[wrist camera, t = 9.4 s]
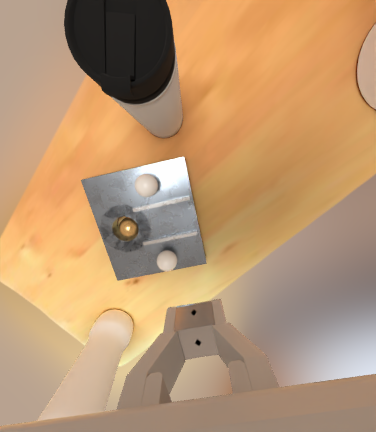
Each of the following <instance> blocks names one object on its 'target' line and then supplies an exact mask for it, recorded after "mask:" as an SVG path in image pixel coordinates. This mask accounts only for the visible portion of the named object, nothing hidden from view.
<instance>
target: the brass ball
mask: <svg viewBox="0 0 376 432" xmlns="http://www.w3.org/2000/svg"><path fill="white" fill-rule="evenodd" d="M119 231H120V233H121V234H122V235H123V236H125V237H133V236H135V235H136V234H137V233H138V231H139V228H138V225H137V223H136V222H135V221H134V220H133V219H132V218H125V219H123V220H122V221H121V222H120V224H119Z"/></svg>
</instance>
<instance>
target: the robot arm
mask: <svg viewBox="0 0 376 432" xmlns="http://www.w3.org/2000/svg"><path fill="white" fill-rule="evenodd" d="M357 78H358V85H359V88H360V91H361V94H362V96H363V97H364V99H365V100H366V102H367V103H368V104H369V105H370V106H371V107H373V108H374V109H376V23H375V25H374V26H373V27H372V29H371V30H370V32H369V34H368V35H367V37H366V39H365V41H364V44H363V46H362V49H361V52H360V55H359V60H358V67H357ZM211 355H219V356H220V358H221V359H222V360H223V362H224V363H225V364H226V366H227V367H228V368H229V373H230V380H231V385H232V391H233V394H228V395H220V396H213V397H207V398H199V399H192V400H184V401H177V402H172V401H171V399H170V396H169V394H170V392H171V390H172V388H173V386H174V384H175V382H176V379H177V377H178V375H179V373H180V371H181V369H182V367H183V365H184V363H185V360H187V359H192V358H197V357H204V356H211ZM0 432H376V374H372V375H364V376H357V377H350V378H343V379H336V380H328V381H321V382H314V383H307V384H300V385H292V386H285V387H279V385H278V383H277V380H276V378H275V375H274V373H273V370H272V368H271V365H270V363H269V361H268V358H267V355H266V354H264V353H263V352H262V351H261V350H260V349H259V348H258V347H256V346H255V345H254V344H253V343H252V342H251V341H249V340H248V339H247V338H246V337H245V336H244V335H243V334H242V333H241V332H239V331H238V330H237V329H236V328H235V327H234V326H233V325H231V324H230V323H226V319H225V315H224V311H223V306H222V302H221V299H216V300H212V301H206V302H201V303H195V304H189V305H182V306H177V307H170V308H168V309H167V312H166V318H165V325H164V331H163V333H162V334H160V335H159V336H158V337H157V339H156V340H155V341H154V342H153V344H152V345H151V346H150V348H149V349H148V350H147V351H146V353H145V354H144V355H143V356H142V357H141V359H140V360H139V361H138V363H137V364H136V365H135V366H134V367H133V369H132V370H131V371H130V372H129V374H128V375H127V376H126V380H125V383H124V386H123V390H122V393H121V396H120V399H119V403H118V406H117V409H116V410H112V411H105V412H97V413H90V414H83V415H76V416H69V417H61V418H54V419H47V420H40V421H32V422H25V423H18V424H11V425H4V426H0Z"/></svg>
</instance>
